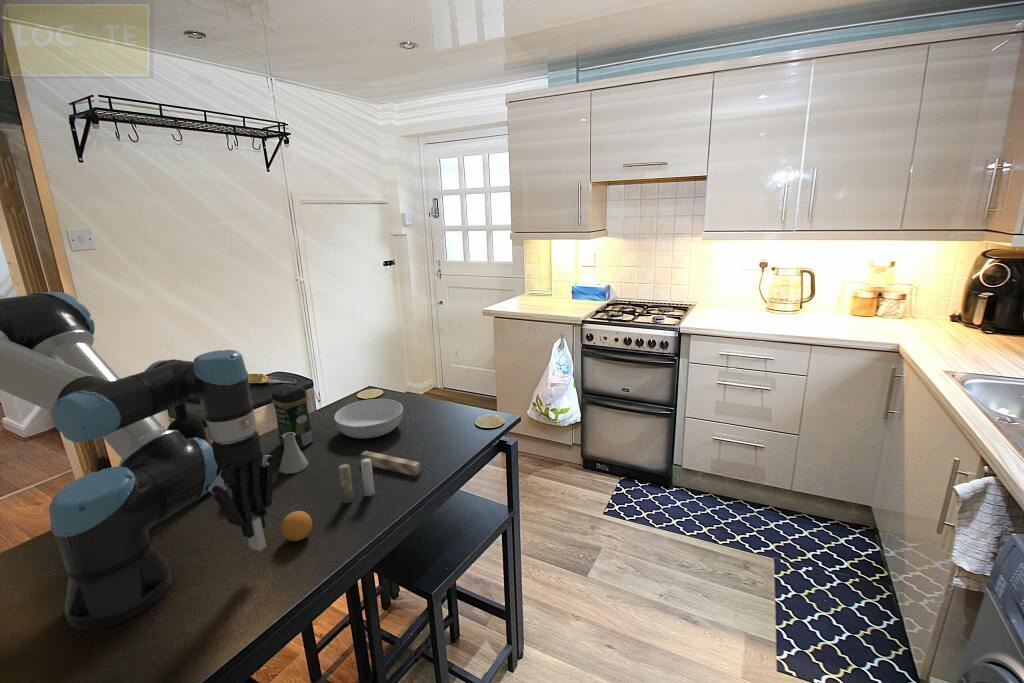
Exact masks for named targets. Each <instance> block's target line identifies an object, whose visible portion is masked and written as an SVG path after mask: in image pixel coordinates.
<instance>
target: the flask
mask: <svg viewBox="0 0 1024 683" xmlns="http://www.w3.org/2000/svg"><path fill="white" fill-rule="evenodd" d="M295 435H296V433H294V432H288V433H286V434H283V436H282V438H283V439H284V446H283V454H282V458H281V461H280V465H279V470H278V472H279V473H282V474H285V475H288V474H298V473H299V472H301V471H303V470H305V469H307V468H308V466H309V464H310V463H309V461H308V459H307V458H306V456H305V455H304V453H303V451H301V450H302V449H301V448H299V447H298V445H297V443H296V440H295Z"/></svg>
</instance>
